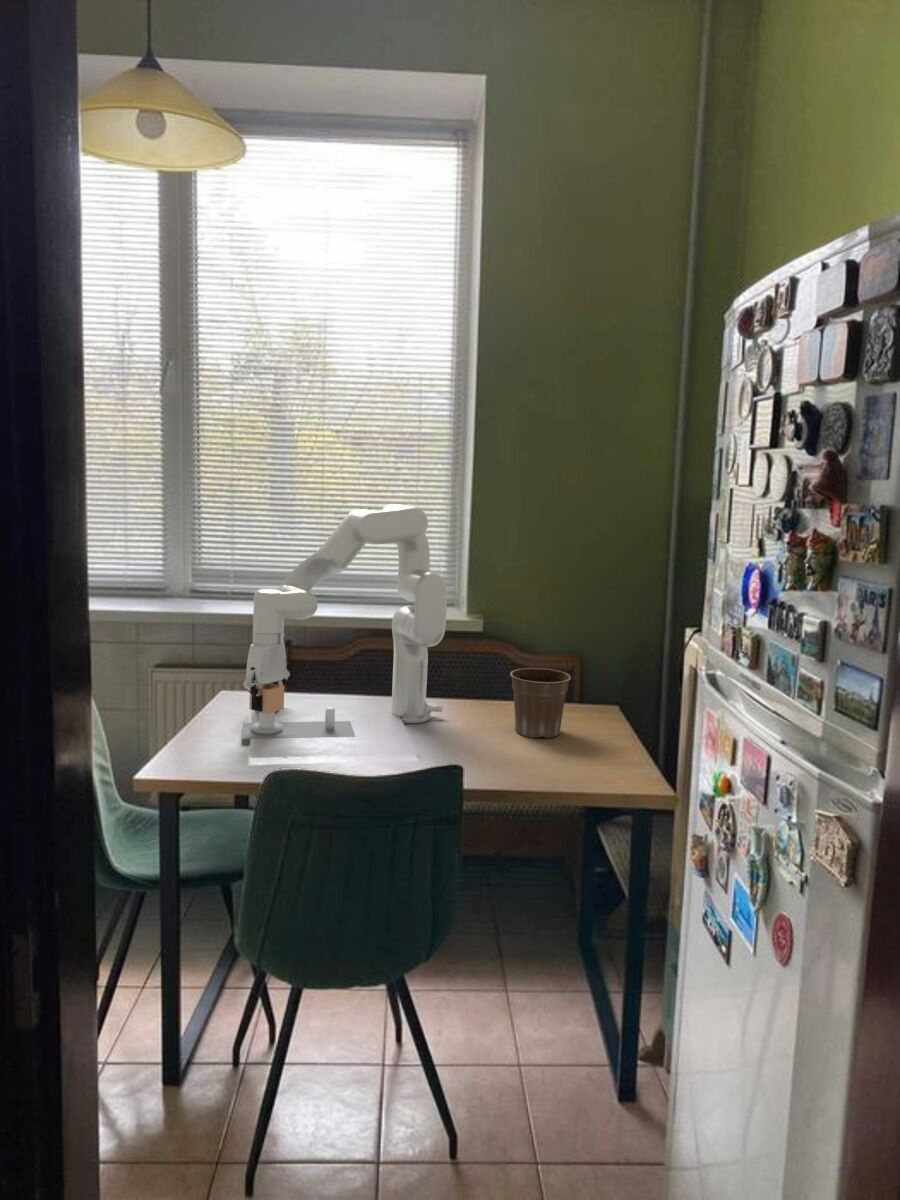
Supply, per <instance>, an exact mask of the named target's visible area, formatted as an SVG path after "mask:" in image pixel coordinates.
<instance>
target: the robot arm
mask: <svg viewBox="0 0 900 1200" xmlns="http://www.w3.org/2000/svg"><path fill="white" fill-rule="evenodd" d="M428 526H429V520H428V517H427V515H426V513H425V512H424V511H423V510H422V509H421V508H419V507H417V506H411V505H405V504H400V503H398V504H397V503H390V504H387V505H385V506H384V507H383V508H381V509H380V510H369V509H361V508H357V509H353V510H351V511H349V513H348V514H347V515H346V516H345V517H344V518H343V520H342V521H340V523H339V524H338V526H336V528H335V529H334V531H333V532H332V533H331V534H330V535H329V537H328V538H327V539H326V540H325V542H324V543H323V544H322V545H321V546H320V548H318V550H317V551H315V552H313V553H312V554H311V555H309V556H308V557H307V558H306V559H305V560H303V561H302V562H301V563H299V564H297V566H296V567H295V568H294V569H293V570H292V571H290V573H289V574H288V576H286V578H285V579H284V580H283V581H282V582H281V584H280V585H279V587H278V589H275V588H261V589H257V590H256V591H255V592H254V594H253V614H252V616H253V617H252V618H253V620H252V622H253V623H252V644H250V645H249V650H248V652H247V653H248V655H247V661H246V662H247V663H246V672H245V673H246V674H245V680H243V683H242V685H243V687H244V688H246V690H247V691H248V692H249V695H250V694H251V695H252V710H251V711H254V710H255V711H259V712H261V711H262V699H263V696H261V693H262V689H263V686H264V685H265V684H269V683H272V684H277V685H281V686H284V687H285V684H286V683H287V680H288V679H289V678H290V676H291V673H290V671H289V670H288V669H287V654H286V646H285V642H284V637H285V635H286V634H285V631H284V630H285V619H294V620H307V619H309V618H311V617H313V615H314V614H316V612H317V610H318V599H317V597H316V596H315V595H314V594H313V593H312V592H311V590H312V589H313V588H315V586H317V585H318V584H319V583H320V582H322V581H323V580H325V579H327V578H329V577H333V576H335V575H339V574H340V573H342V572H344V571H346V570H347V568H348V567H349V566H350V564H352V562H353V561H354V559H355V558H356V557H357V556H358V554H360V552H361V550H362V549H364V547H365V546H366V544H368V545H385V544H392V543H395V544H396V546H397V551H398V566H397V567H398V568H397V569H398V571H397V573H398V574H397V590H398V593H399V596H400V597H401V598H402V599H404V600H406V601H408V602H410V603H413V604H414V605H404V606H401V607H400V608H398V609H397V610H396V612H395V613H394V614H393V617H392V620H391V632H392V640H393V642H392V643H393V663H392V665H393V667H392V686H391V687H392V689H391V691H392V692H391V714H393V715H394V716H397V717H399V718H400V719H401V722H402V724H420V723H425V722H427V721H429V720H431V715H432V714H431V713H432V712H437V713H438V712H439V713H441V712H443V704H437V703H428V701H427V682H428V664H429V663H428V662H429V659H428V657H429V652H428V648H430V647H431V648H432V647H436V646H437V645H438V644H439V643H441V641H442V640H443V638H444V636H445V632H446V626H447V613H448V612H447V609H448V606H447V605H448V589H447V584H446V582H445V580H444V578H443V577H442V576H441V575H440V574H438V573H437V572H435V571H431V566H430V565H431V557H430V545H429V539H428V537H427V535H426V532H427V529H428ZM276 682H277V683H276ZM256 686H258V689H256ZM255 711H254V712H255ZM259 712H258V713H259Z"/></svg>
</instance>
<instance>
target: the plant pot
mask: <svg viewBox="0 0 900 1200" xmlns="http://www.w3.org/2000/svg"><path fill="white" fill-rule="evenodd" d="M509 673H510V674H509V675H510V677H511V683H512V684H511V687H512V690H513V701H514V703H513V704H514V730H515V732H516V733H517V734H519V735H521V736H523V737H527V738H532V739H540V738H542V737H543V738H545V739H550V738H555V737H558V735H560V733H561V727H562V720H563V713H564V708H565V707H564V706H565V700H566V693H567V692H568V688H569V682H570V681H571V678H572V677H571V675H570V674H569V673H567V672H564V671H561V670H556V669H552V668H541V667H540V668H539V667H530V668H529V667H528V668H527V667H525V668H518V669H515V670H512V671H510V672H509Z"/></svg>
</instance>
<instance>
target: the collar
mask: <svg viewBox="0 0 900 1200" xmlns="http://www.w3.org/2000/svg"><path fill="white" fill-rule="evenodd" d="M256 689H258V686H256ZM261 696H263V699H262V711H261V713H265V714H269V713H272V712H276V711H279V712H280V711H282V710H284V708H285V685H284V686H281V685H277V684H272V683H269V684H265V685H264V686H263V689H262V693H261ZM249 710H251V711H253V712H255V710H252V695H251V694H250V693H249ZM256 713H259V711H257V712H256Z"/></svg>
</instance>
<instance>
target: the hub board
mask: <svg viewBox="0 0 900 1200" xmlns="http://www.w3.org/2000/svg"><path fill="white" fill-rule="evenodd" d="M324 714H325V716H324V717H325V718H324V721H276V713H275V712H272V713H269V714H265V713H261V712H258V722H242V734H241V745H251V740H253V739H256V740H257V739H301V738H302V739H303V738H304V739H306V738H307V739H308V738H310V739H312V738H345V737H346V738H352V737H353V738H355V737H356V733H355V731H354V727H353V725H352V722H351V720H347V721H346V720H342V721H341V720H337V721H335V719H336V708H335V707H331V706H328V707H325V713H324Z"/></svg>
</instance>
